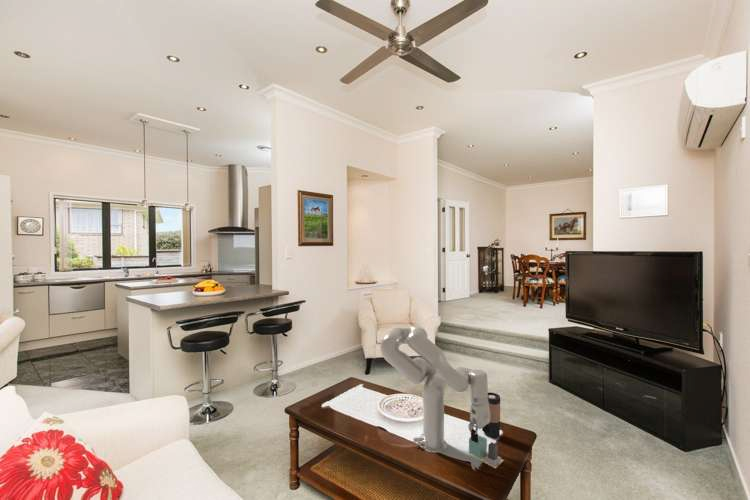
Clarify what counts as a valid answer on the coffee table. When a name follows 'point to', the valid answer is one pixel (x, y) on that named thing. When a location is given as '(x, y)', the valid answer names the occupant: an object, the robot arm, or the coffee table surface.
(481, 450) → the mint green cube
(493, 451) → the post
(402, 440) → the coffee table surface
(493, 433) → the travel mug
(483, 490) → the coffee table surface
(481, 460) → the board
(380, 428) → the coffee table surface
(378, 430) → the coffee table surface
